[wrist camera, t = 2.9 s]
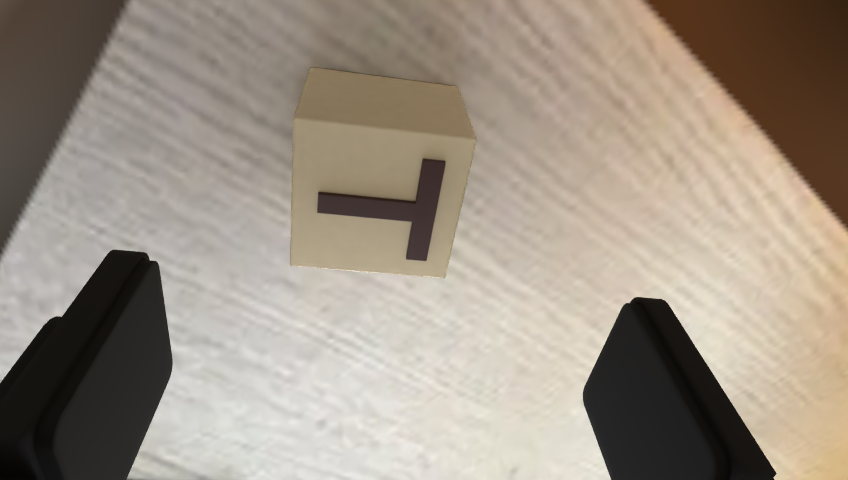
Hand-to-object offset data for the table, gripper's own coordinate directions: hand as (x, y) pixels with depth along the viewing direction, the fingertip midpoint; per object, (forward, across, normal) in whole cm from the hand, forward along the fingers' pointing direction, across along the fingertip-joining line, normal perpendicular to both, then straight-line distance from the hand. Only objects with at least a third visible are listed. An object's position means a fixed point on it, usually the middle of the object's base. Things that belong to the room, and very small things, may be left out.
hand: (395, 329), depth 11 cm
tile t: (+9, 0, 0) cm, 9 cm away
